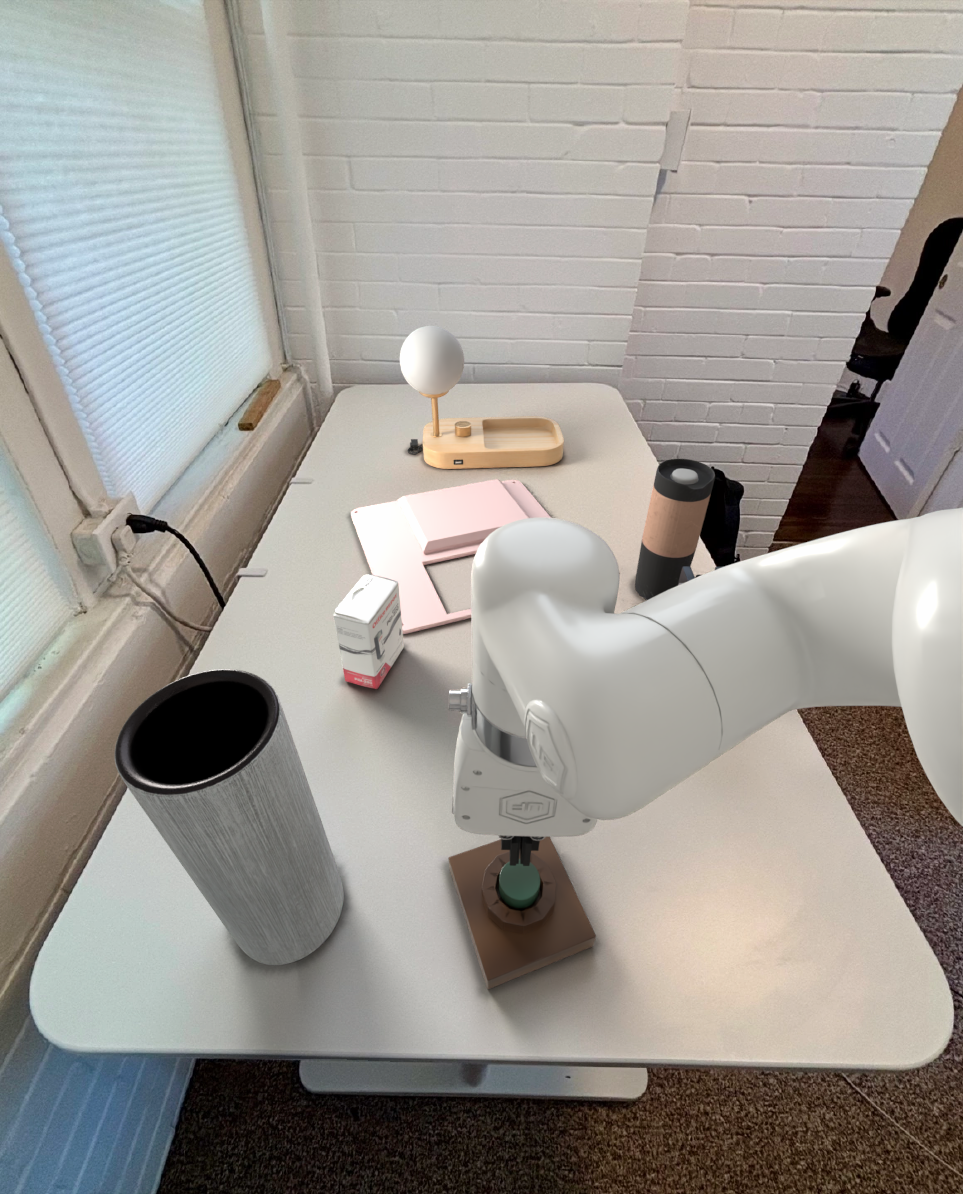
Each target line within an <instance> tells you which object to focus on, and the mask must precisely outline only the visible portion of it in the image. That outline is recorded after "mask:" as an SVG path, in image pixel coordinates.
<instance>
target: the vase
mask: <svg viewBox="0 0 963 1194" xmlns="http://www.w3.org/2000/svg"><path fill="white" fill-rule="evenodd" d="M114 763H115V764H114V765H115V767H116V770H117V771H116V772H117V773H118V775H119V777H120V778H121V780H122V781H123V783H124V784H125V786H126V787H127V788H128V790H129V791H130V793H131V794H132V796H133V798H134V799H135V800H136V801H137V803H138V804H139V806H140V807H141V809H142V811H144V813H145V814H146V816H147V817H148V819H149V820H150V822H151V823H152V825H153V826H154V827H155V829H156V830H157V831H158V833H159V834H160V836H161V837H162V839H163V840H164V842H165V843H166V844H167V846H168V847H169V849H170V850H171V852H172V853H173V854H174V856H175V857H176V859H177V861H178V862H179V863H180V864H181V866H182V868H183V870H185V872H186V873H187V874H188V876H189V877H190V879H191V880H192V881H193V883H194V884H195V886H196V887H197V889H198V890H199V891H200V894H201V895H202V896H203V898H204V899H205V900H206V902H207V903H208V905H209V906H210V907H211V909H212V911H213V912H214V913H215V914H216V917H218V919H219V920H220V922H221V923H222V924H223V926H224V927H225V929H226V930H227V932H228V933H229V934H230V936H231V937H232V939H233V941H234V942H235V943H236V945H237V946H238V947H239V948H240V949H241V950H242V952H244V954H245V955H247V956H248V957H249V958H250V959H252V960H253V961H255V962H258V963H260V964H263V965H267V966H268V965H269V966H283V965H288V964H293V963H295V962H297V961H300V960H302V959H304V958H305V957H308V956H309V955H311V954H312V953H314V952H315V951H316V950H317V949H319V948H320V947H321V946H322V944H324V943H325V941H326V940H327V939H328V938H329V937H330V935H331V934H332V933H333V931H334V929H335V927H336V926H337V924H338V922H339V919H340V917H341V914H342V910H343V905H344V894H345V893H344V886H343V882H342V881H343V880H342V877H341V874H340V871H339V868H338V865H337V861H336V859H335V856H334V853H333V851H332V848H331V845H330V842H329V839H328V836H327V833H326V830H325V827H324V824H323V822H322V818H321V816H320V812H319V809H318V807H317V804H316V801H315V798H314V796H313V793H312V790H311V787H310V784H309V781H308V777H307V775H306V772H305V769H304V766H303V764H302V760H301V757H300V754H299V752H298V750H297V746H296V744H295V740H294V738H293V734H292V731H291V729H290V725H289V723H288V720H287V717H286V713H285V712H284V709H283V705H282V702H281V700H280V697H279V696H278V693H277V692H276V689H275V688H274V687H273V686H272V685H271V684H270V683H269V682H268V681H267V680H265V679H264V678H262V677H261V676H259V675H257V674H254V673H252V672H250V671H246V670H241V669H234V668H219V669H216V668H215V669H209V670H203V671H199V672H196V673H192V674H189V675H186V676H184V677H181V678H178V679H177V680H174V681H172V682H170V683H168V684H167V685H165V686H163V687H161V688H160V689H158V690H156V691H155V692H154V693H152V694H150V696H148V697H147V698H146V699H144V701H142V702H141V703H140V704H139V705H138V706H137V707H136V708H135V709H134V710H133V712H132V713H131V714H130V715H129V716H128V718H127V720H126V721H125V722H124V723H123V725H122V726H121V729H120V731H119V734H118V736H117V739H116V742H115V746H114Z"/></svg>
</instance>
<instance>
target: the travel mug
mask: <svg viewBox="0 0 963 1194" xmlns="http://www.w3.org/2000/svg"><path fill="white" fill-rule="evenodd" d="M658 464H659V465H658V466H657V467H656V472H655V476H654V481H653V486H652V490H651V493H650V494H651V495H650V500H649V504H648V507H647V508H648V509H647V513H646V518H645V523H644V527H643V533H642V535H641V543H640V548H639V549H640V550H639V553H638V560H637V567H636V572H635V573H636V574H635V578H634V579H635V580H634V588H635V592H636V593H637V594H638V595H639V596H640V597H641V598H643V599H644V600H645V601H647V600H649V599H651V598H653V597H655V596H657V595H659V594H661V593H663V592H665V591H667V590H669V589H671V588H674V587H676V586H678V582H679V578H680V574H681V571H682V567H683V566H685V567H691V568H692V564H693V561H694V557H695V554H696V552H697V548H698V543H699V540H700V536H701V532H702V528H703V525H704V521H705V518H706V514H707V509H708V506H709V502H710V498H711V496H712V495H711V494H712V490H713V487H714V483H715V479H716V474H715V471H714V469H713V468H712V467H710V466H709V465H708V464H706V463H703V462H700V461H698V460H694V459H688V458H671V459H667V460H664V461H662V462H660V463H658Z"/></svg>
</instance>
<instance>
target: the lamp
mask: <svg viewBox="0 0 963 1194" xmlns="http://www.w3.org/2000/svg"><path fill="white" fill-rule="evenodd" d="M463 350H464V349H463V347H462V345H461V344H460V342H459V339H458V338H457V337H456V336H455V335H454V334H453V333H452V332H451V331H449V330H448V329H446V328H443V327H441V326H438V325H425V326H421V327H418V328H416V329H415V330H413V331H412V332H410V334H408V336H407V337H406V338H405V339H404V341H403V343H402V345H401V348H400V351H399V366H400V371H401V374H402V376H403V378H404V379H405V381H406V382H407V384H408V385H409V386H410V387H411V388H413V389H414V390H415V391H417V392H418V393H419V395H421V396H423V397H425V398H428V399H430V400H431V401H430V403H431V418H432V420H431V421H429V422H428V423H426V424H425V425H424V427H423V429H422V444H420V445H419V441H418V439H419V438H411V439H410V442H409V448H408V449H407V453H408V454H410V455H413V456H416V455H417V454H419V453H420V452H422V453H423V460H424V462H425V463H426V464H427V465H429V466H431V467H433V468H436V469H441V470H442V469H444V470H451V469H452V470H457V469H458V470H459V469H460V470H461V469H491V468H492V469H493V468H495V469H496V468H526V467H529V468H531V467H547V466H552V465H554V464H557V463H559V462H560V461H561V460H562V459H563V457H564V447H565V446H564V444H565V438H564V434H563V432H562V429H561V426H560V424H559V423H558V422H557V421H555V420H554V419H552V418H549V417H545V416H541V415H540V416H537V415H525V416H524V415H523V416H522V415H521V416H519V415H518V416H480V417H478V416H476V417H446V418H445V417H444V418H439V417H440V415H439V400H438V399H439V398H442V397H444V396H446V395H447V394H448V393H449V392H450V390H452V389H453V388H454V387H455V386H456V385H457V384H458V383H459V382H460V380H461V378H462V376H463V372H464V368H465V355H464V351H463ZM415 451H416V452H415Z"/></svg>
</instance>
